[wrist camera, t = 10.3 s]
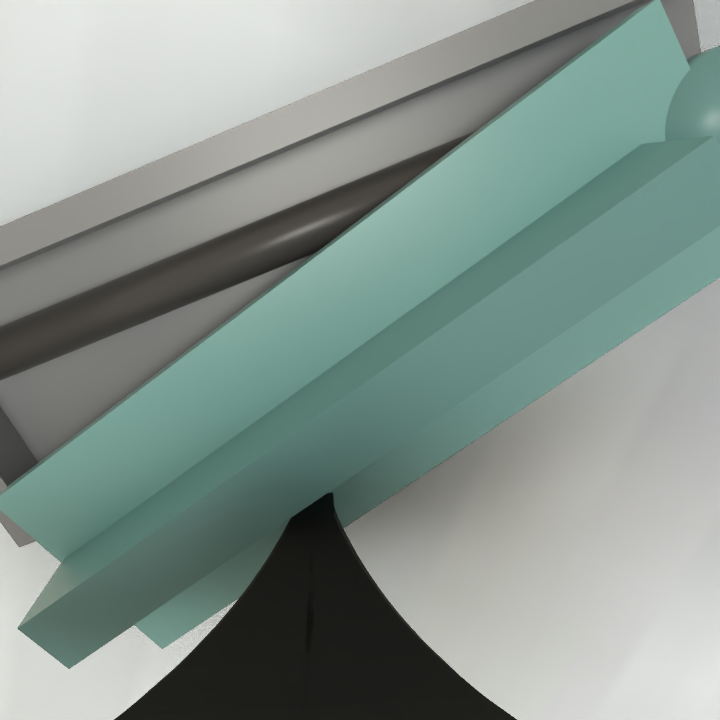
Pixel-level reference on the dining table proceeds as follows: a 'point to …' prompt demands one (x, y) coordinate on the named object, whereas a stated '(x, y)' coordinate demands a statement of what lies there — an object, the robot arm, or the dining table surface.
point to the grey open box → (244, 217)
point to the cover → (390, 343)
